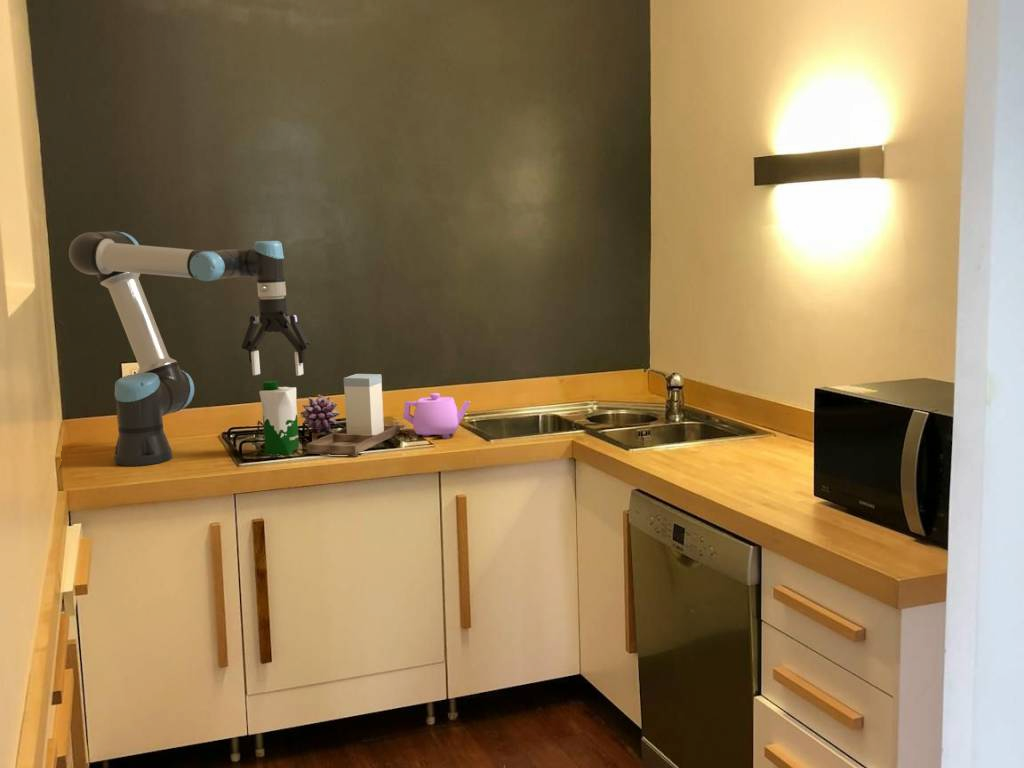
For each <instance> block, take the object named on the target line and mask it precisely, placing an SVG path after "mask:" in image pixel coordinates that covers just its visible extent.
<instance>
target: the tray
mask: <svg viewBox="0 0 1024 768" xmlns="http://www.w3.org/2000/svg"><path fill="white" fill-rule="evenodd" d="M398 432H400V433H401V426H400V424H399V425H395V424H392V425H391V424H384V431H383V432H381V433H379V434H377V435H363V434H347V426H345V427H343V428H341V429H338V430H336V431H334V432H332V433H330V434H327V435H324V436H322V437H320V438H317V439H315V440H312V441H310V442H308V443H306V444H305V449H306V450H305V452H306V455H307V454H330V455H348V456H352V457H351V458H357V457H359V456H361V455H363V453H362V452H363V451H366V450H368V449H370V448H372V447H374V446H376V445H378V444H380V443H383V442H385V441H386V440H387V441H388V439H391V438H392V437H395V436H396V435H395V434H397V433H398ZM394 435H395V436H394ZM397 435H398V434H397ZM360 454H361V455H360ZM358 455H359V456H358Z"/></svg>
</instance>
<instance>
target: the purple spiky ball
mask: <svg viewBox="0 0 1024 768" xmlns="http://www.w3.org/2000/svg"><path fill="white" fill-rule="evenodd" d="M330 399H331V396H327V398H326V399H325V397H324V396H323V395H321V394H317V398H316V399H314V398H312V397H311V396H309V397H308V401H309V404H302V407H303V408H304V409H305V410H304V411H300V416H301V418H304V420H303V422H302V423H301V424H302V425H307V426H306V427H307V428H308V429H309V428H310V430H311V431H310V432H311V433H312V432H313V431H314V430H315V429H316V431H317V434H320V433H321V432H324V430H328V432H330V431H331V424H333V425H337V424H338V421H336V419H335V418H337V416H340V412H339V410H336V406H338V403H337V402H336V403H334V400H331V401H330ZM311 428H315V429H311Z"/></svg>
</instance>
